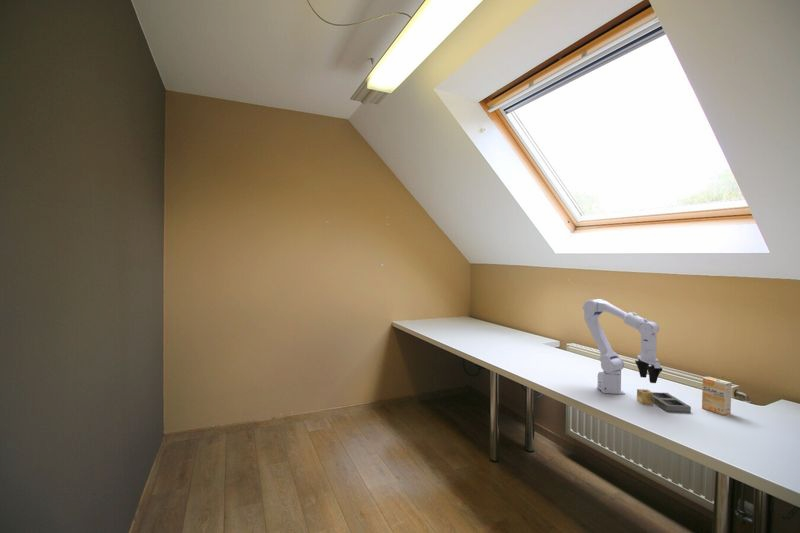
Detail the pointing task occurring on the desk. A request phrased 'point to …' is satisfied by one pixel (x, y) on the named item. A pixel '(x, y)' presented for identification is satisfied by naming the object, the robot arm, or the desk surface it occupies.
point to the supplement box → (716, 395)
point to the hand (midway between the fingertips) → (648, 380)
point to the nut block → (644, 396)
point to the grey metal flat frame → (670, 403)
